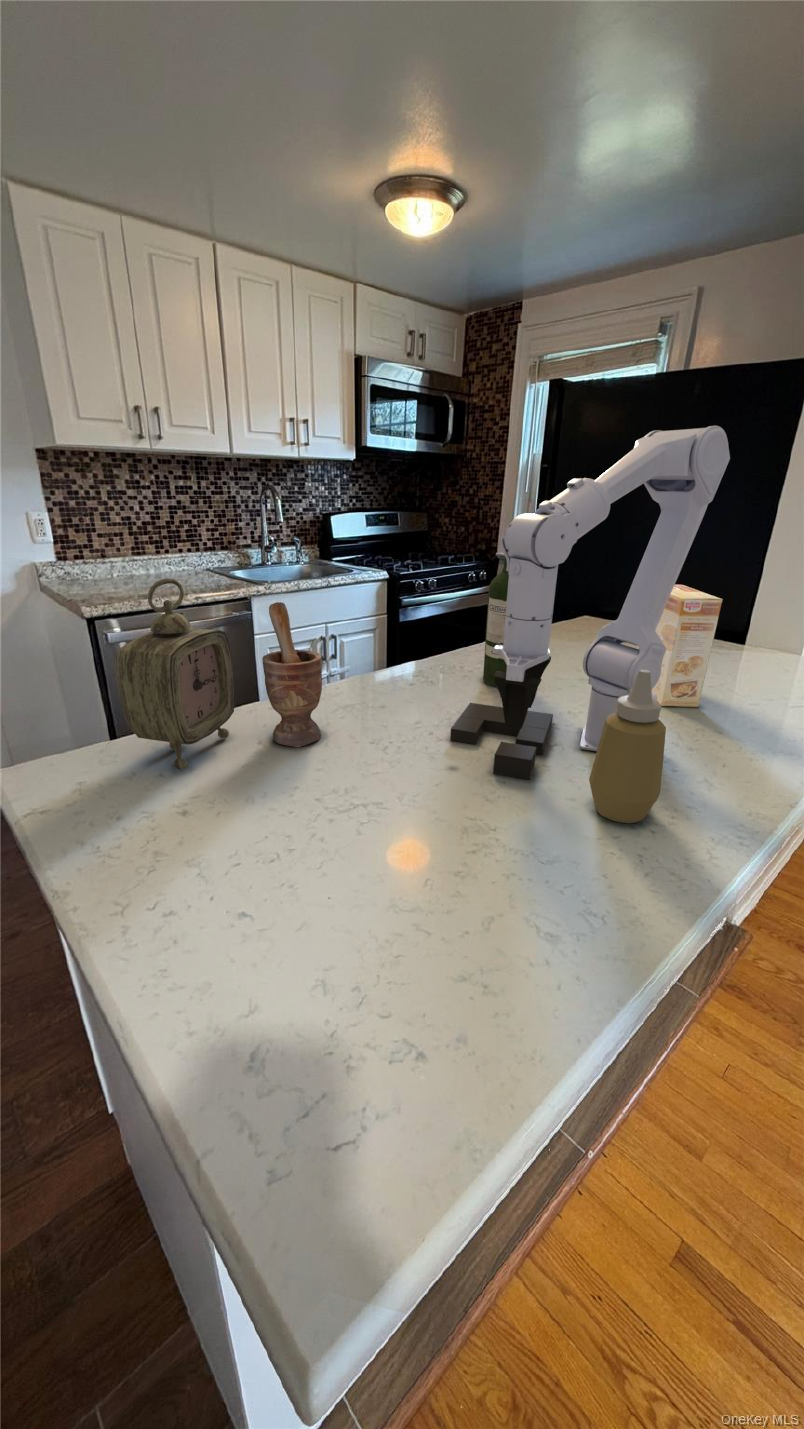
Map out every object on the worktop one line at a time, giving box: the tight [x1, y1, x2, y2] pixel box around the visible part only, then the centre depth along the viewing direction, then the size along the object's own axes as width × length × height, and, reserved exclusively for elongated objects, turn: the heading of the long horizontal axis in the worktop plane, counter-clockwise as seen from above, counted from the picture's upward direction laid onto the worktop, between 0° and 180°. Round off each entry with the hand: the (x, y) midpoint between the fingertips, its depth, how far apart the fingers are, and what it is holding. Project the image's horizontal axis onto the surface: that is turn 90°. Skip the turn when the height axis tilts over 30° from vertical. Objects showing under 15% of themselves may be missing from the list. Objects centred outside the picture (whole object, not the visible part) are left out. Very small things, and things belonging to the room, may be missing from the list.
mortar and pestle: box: [261, 601, 323, 749], centre depth 86 cm, size 12×9×20 cm
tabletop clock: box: [114, 578, 236, 771], centre depth 79 cm, size 14×9×25 cm, turn 164°
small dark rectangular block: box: [492, 741, 537, 781], centre depth 78 cm, size 5×4×3 cm
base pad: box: [449, 702, 554, 756], centre depth 90 cm, size 14×12×2 cm
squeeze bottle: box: [588, 670, 667, 824], centre depth 66 cm, size 8×8×18 cm
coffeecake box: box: [636, 584, 724, 708], centre depth 105 cm, size 15×7×20 cm, turn 179°
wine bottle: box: [482, 524, 509, 688], centre depth 108 cm, size 8×8×30 cm
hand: (519, 716), depth 76 cm, fingers open, 7 cm apart
